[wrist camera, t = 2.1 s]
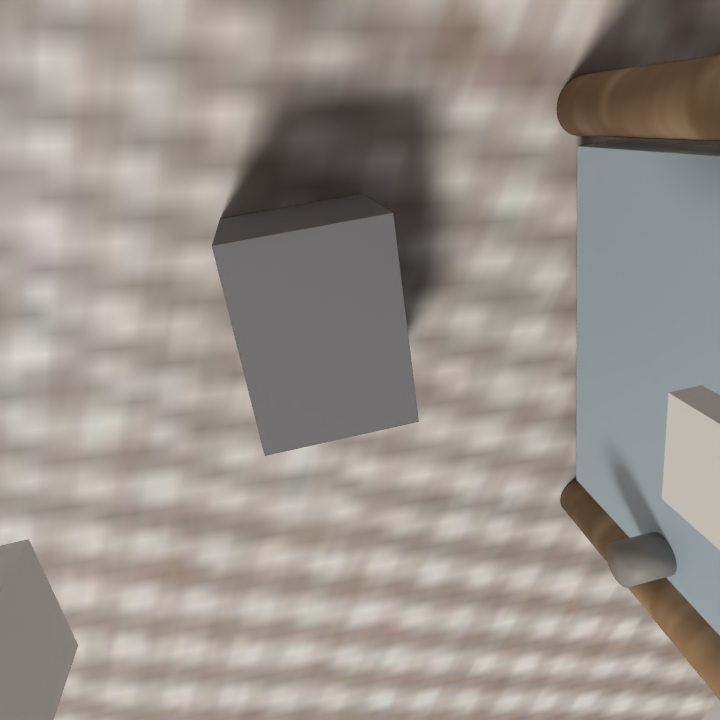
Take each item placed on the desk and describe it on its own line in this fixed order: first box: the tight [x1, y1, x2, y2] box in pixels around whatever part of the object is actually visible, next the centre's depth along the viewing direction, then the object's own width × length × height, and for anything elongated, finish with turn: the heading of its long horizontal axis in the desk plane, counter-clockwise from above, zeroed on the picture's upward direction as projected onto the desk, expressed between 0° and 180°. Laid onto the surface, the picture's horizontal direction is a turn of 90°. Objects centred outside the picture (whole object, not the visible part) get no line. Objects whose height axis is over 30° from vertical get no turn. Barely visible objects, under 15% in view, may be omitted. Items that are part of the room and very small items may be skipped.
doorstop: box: [212, 194, 419, 456], centre depth 23 cm, size 8×6×6 cm
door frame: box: [557, 55, 720, 700], centre depth 22 cm, size 23×2×16 cm, turn 9°
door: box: [576, 140, 720, 636], centre depth 22 cm, size 17×4×14 cm, turn 9°
